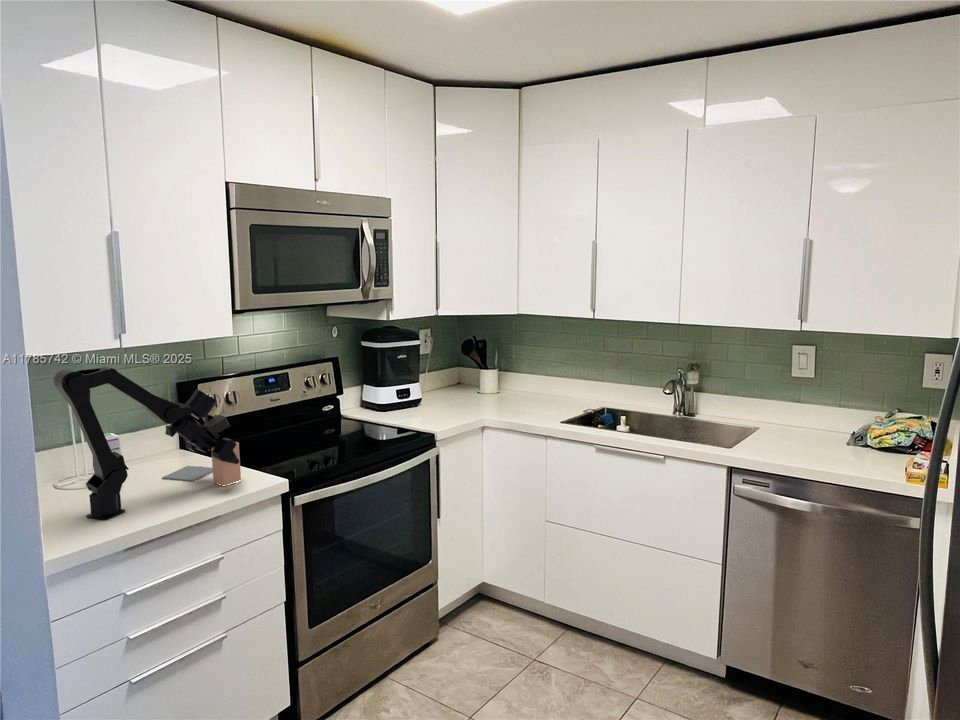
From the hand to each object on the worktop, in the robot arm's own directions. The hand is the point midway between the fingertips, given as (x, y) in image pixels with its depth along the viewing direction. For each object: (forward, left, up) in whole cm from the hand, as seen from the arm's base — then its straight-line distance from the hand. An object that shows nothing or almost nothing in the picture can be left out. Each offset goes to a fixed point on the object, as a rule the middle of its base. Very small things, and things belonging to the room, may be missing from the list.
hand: (230, 460), depth 199 cm
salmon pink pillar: (-1, 0, -7) cm, 7 cm away
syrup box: (-12, +33, -7) cm, 36 cm away
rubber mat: (+2, +16, -7) cm, 18 cm away
